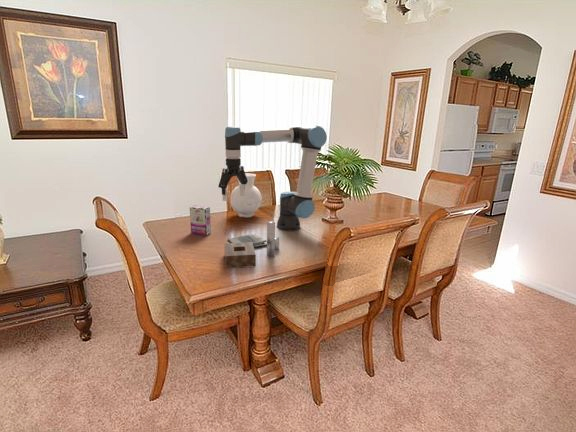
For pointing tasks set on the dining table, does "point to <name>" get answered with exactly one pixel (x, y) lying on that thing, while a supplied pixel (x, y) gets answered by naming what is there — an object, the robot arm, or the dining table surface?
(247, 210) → the vase
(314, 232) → the dining table surface
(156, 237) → the dining table surface
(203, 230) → the candy bar box
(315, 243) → the dining table surface
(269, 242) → the long pin
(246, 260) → the hole block
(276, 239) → the short pin
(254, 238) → the dish towel
